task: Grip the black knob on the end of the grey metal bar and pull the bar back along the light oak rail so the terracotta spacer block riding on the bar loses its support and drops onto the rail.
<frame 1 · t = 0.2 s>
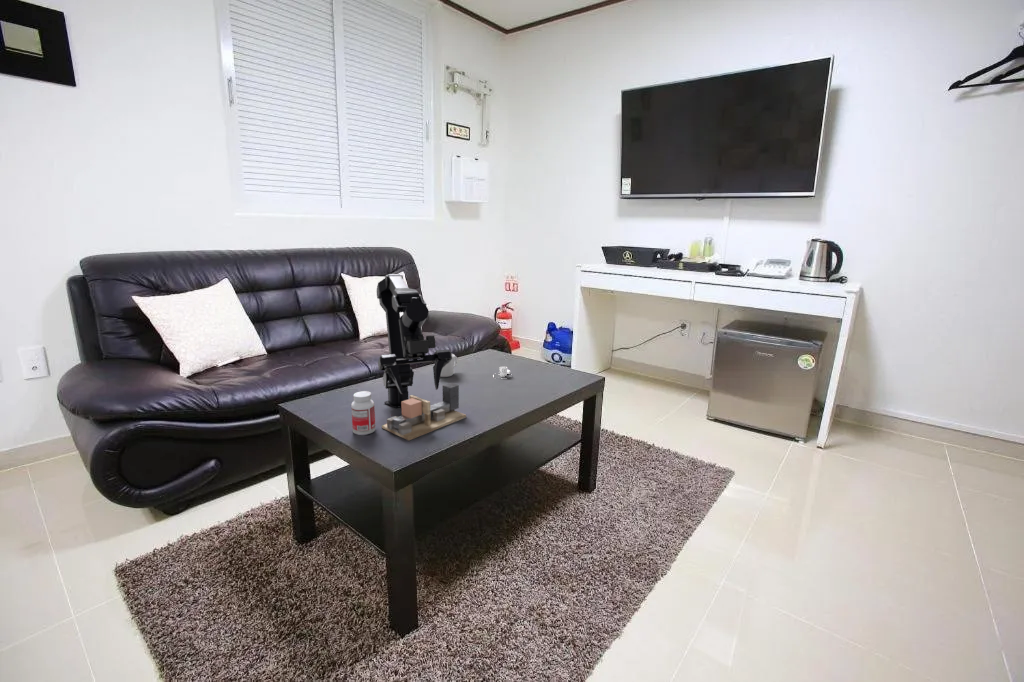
hand: (419, 391, 124), 15 cm above the table, tool tilted 30°, fingers open, 9 cm apart
cup: (447, 375, 185), on the table
grey metal bar: (427, 405, 140), point 5 cm above the table, slide at 0.0 cm, touching spacer
spacer: (411, 414, 136), point 4 cm above the table, touching grey metal bar
rail: (425, 422, 140), on the table
pill bottle: (364, 431, 133), on the table
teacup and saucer: (510, 377, 186), on the table
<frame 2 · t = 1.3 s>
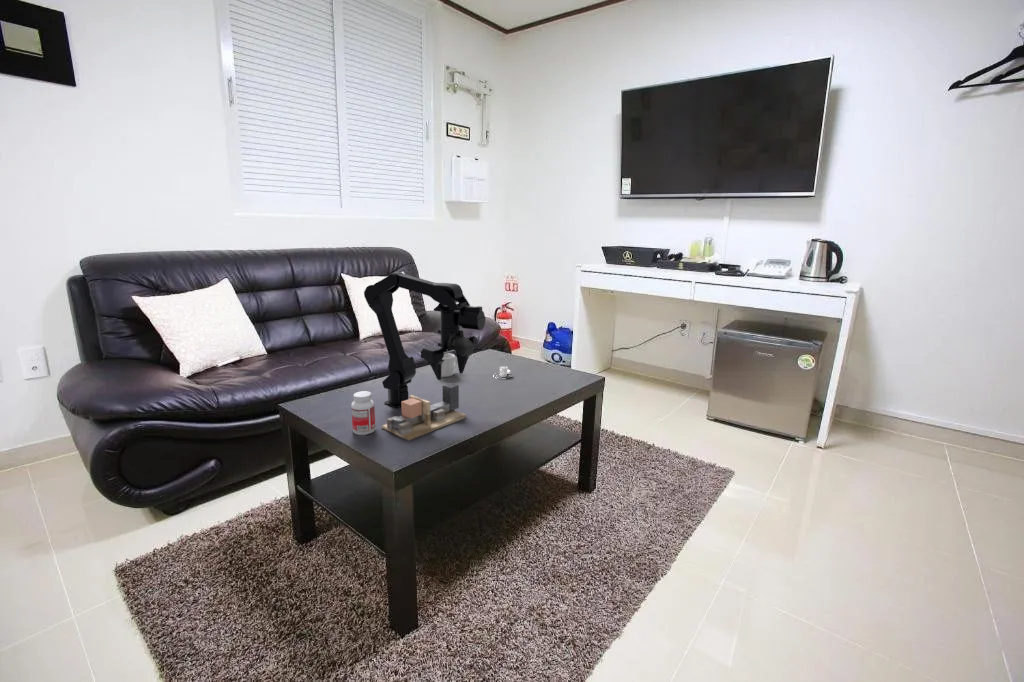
hand: (450, 376, 145), 12 cm above the table, tool pointing down, fingers open, 9 cm apart
nothing on the table moved.
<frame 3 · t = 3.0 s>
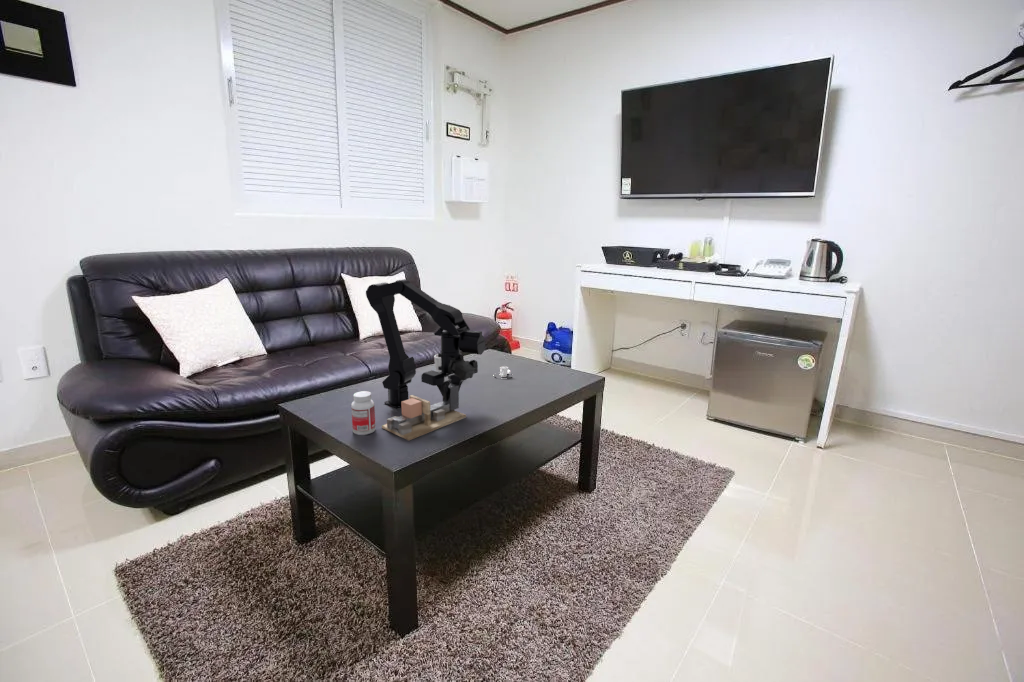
hand: (450, 399, 147), 5 cm above the table, tool pointing down, fingers closed on grey metal bar, 3 cm apart
grey metal bar: (427, 405, 140), point 5 cm above the table, slide at 0.0 cm, touching gripper, spacer
everything else where it was.
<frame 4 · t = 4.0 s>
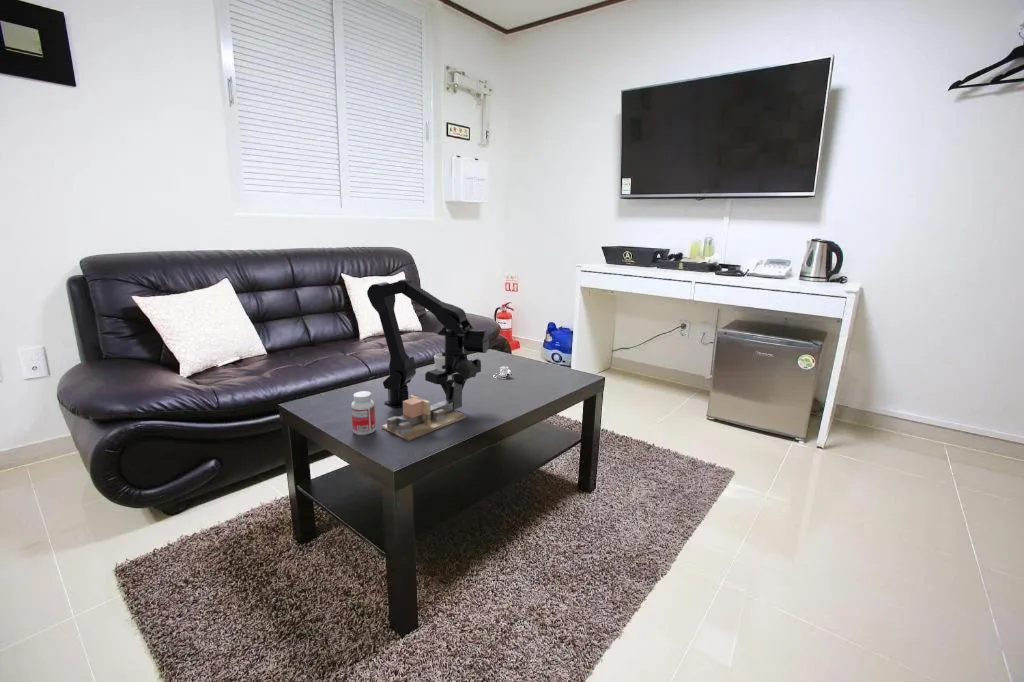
hand: (454, 397, 148), 5 cm above the table, tool pointing down, fingers closed on grey metal bar, 3 cm apart
grey metal bar: (430, 403, 141), point 5 cm above the table, slide at 1.4 cm, touching gripper, spacer
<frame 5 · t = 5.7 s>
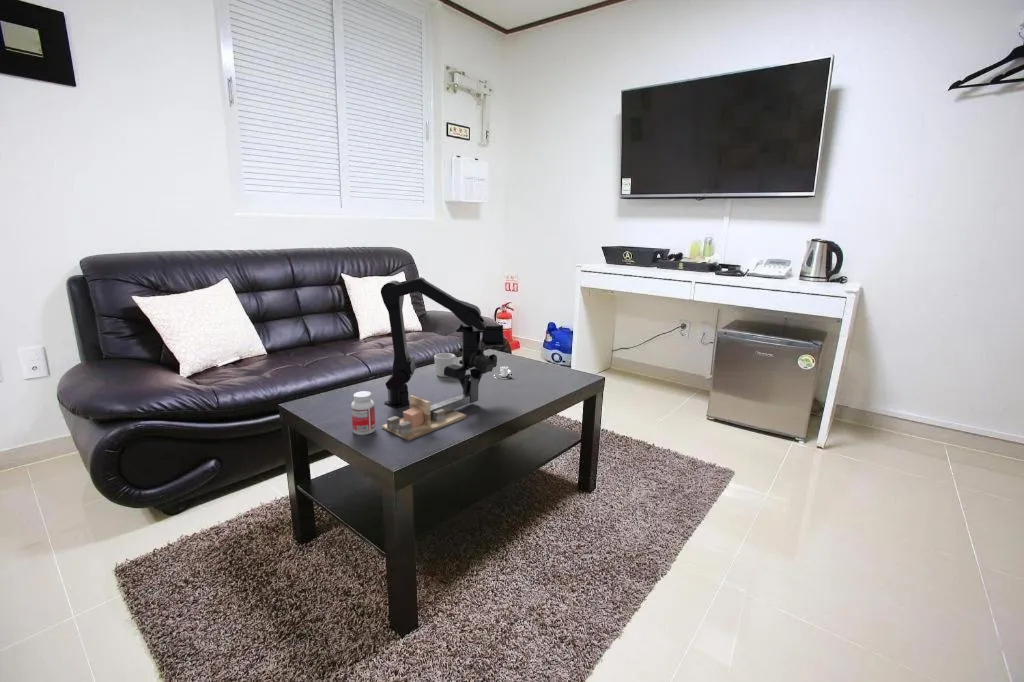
hand: (470, 391, 154), 5 cm above the table, tool pointing down, fingers closed on grey metal bar, 3 cm apart
grey metal bar: (449, 397, 146), point 5 cm above the table, slide at 8.9 cm, touching gripper
spacer: (414, 423, 137), point 1 cm above the table, tilted 6°, touching rail
everything else where it was.
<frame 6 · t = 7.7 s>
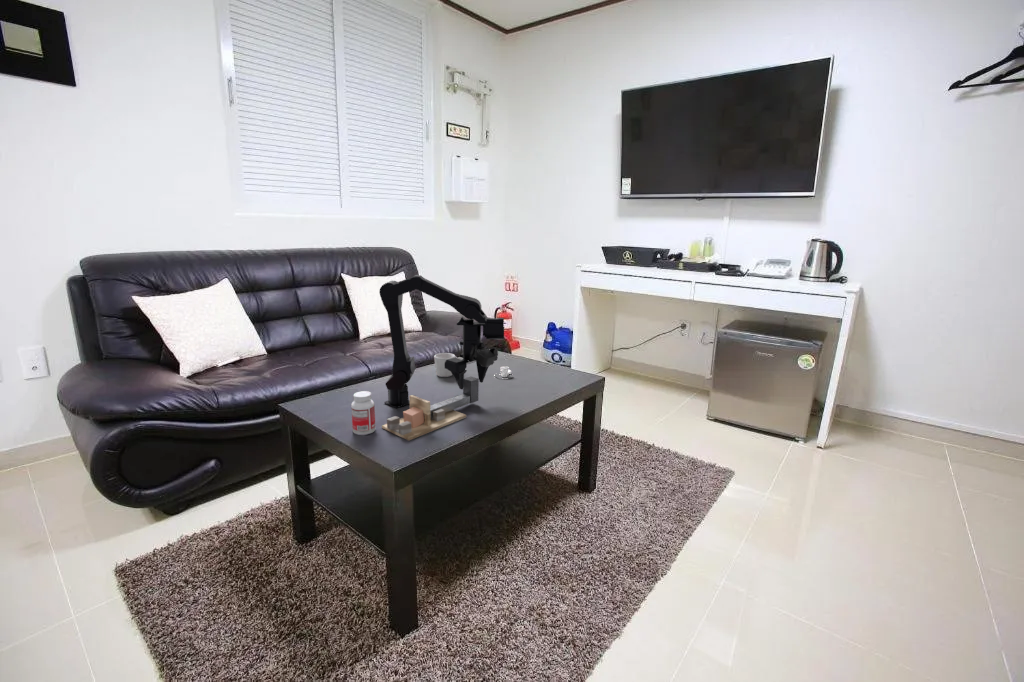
hand: (471, 385, 153), 7 cm above the table, tool pointing down, fingers open, 9 cm apart
grey metal bar: (449, 397, 146), point 5 cm above the table, slide at 8.9 cm
everything else where it was.
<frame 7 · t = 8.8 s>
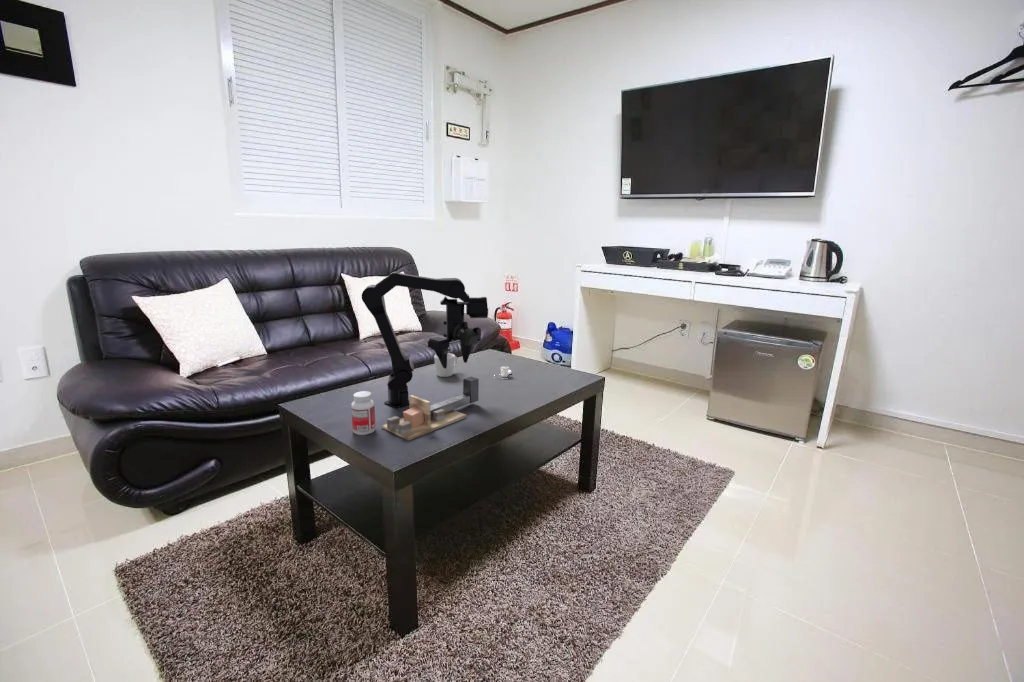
hand: (455, 365, 155), 12 cm above the table, tool pointing down, fingers open, 9 cm apart
nothing on the table moved.
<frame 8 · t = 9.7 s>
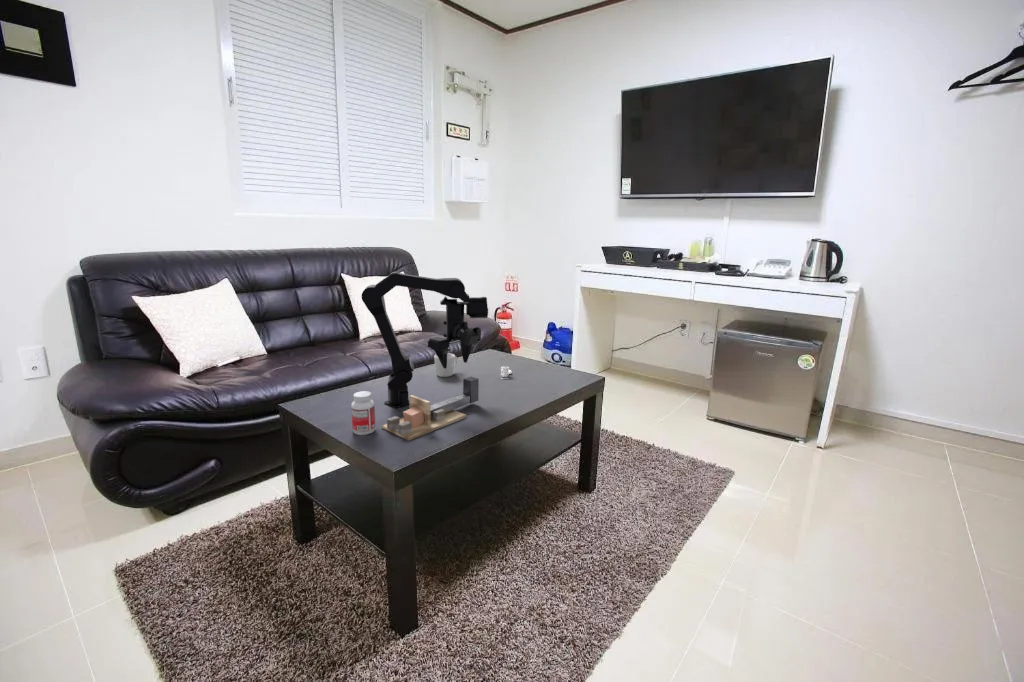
hand: (455, 365, 155), 13 cm above the table, tool pointing down, fingers open, 9 cm apart
nothing on the table moved.
at the end: grey metal bar slide at 8.9 cm; spacer point 1.0 cm above the table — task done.
